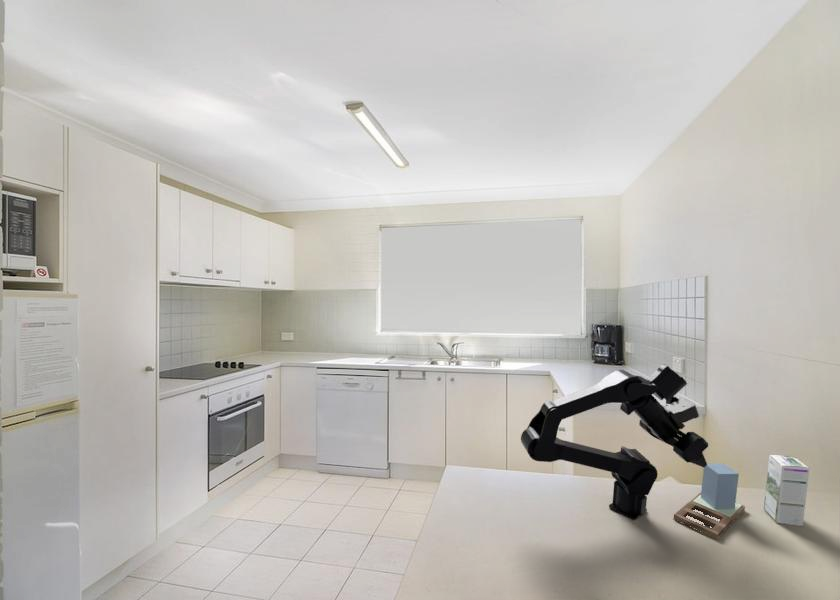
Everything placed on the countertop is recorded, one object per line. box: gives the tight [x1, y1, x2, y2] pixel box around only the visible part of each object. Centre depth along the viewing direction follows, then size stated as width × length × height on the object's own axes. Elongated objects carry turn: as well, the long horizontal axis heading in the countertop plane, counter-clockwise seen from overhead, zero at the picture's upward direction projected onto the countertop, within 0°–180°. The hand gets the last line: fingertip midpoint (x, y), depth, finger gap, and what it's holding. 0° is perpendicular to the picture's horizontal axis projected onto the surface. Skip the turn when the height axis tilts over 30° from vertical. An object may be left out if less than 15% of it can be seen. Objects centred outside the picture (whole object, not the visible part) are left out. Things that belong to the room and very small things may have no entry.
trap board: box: [673, 492, 746, 540], centre depth 107 cm, size 9×18×1 cm, turn 128°
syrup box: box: [763, 454, 810, 527], centre depth 106 cm, size 6×6×14 cm
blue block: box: [700, 463, 739, 509], centre depth 109 cm, size 5×5×9 cm
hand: (692, 456), depth 108 cm, fingers open, 9 cm apart
